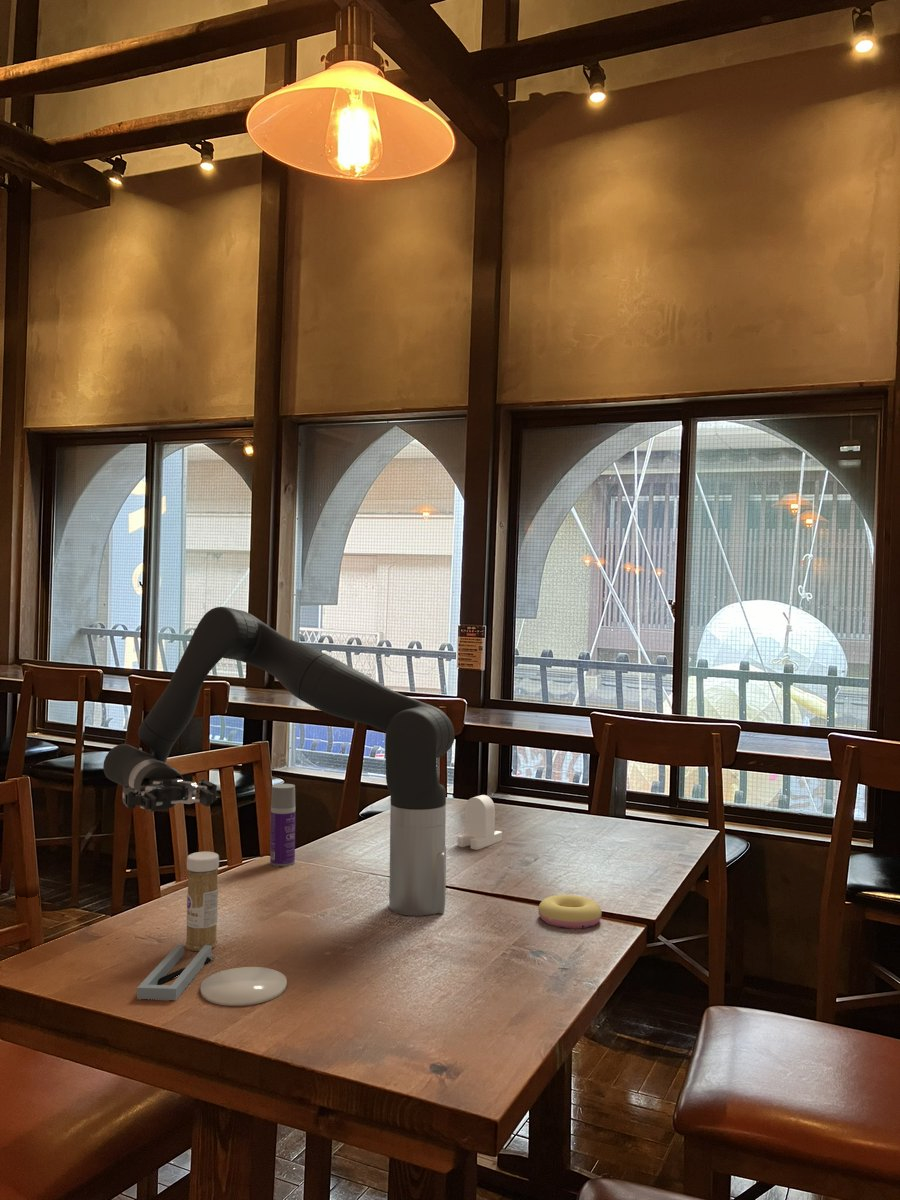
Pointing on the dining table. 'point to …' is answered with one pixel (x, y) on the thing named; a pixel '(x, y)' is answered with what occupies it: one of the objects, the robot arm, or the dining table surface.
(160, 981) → the black marker pen
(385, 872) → the dining table surface
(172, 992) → the grey u-shaped piece
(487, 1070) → the dining table surface
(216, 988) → the coaster
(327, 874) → the dining table surface
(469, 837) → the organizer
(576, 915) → the donut
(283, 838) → the container
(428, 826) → the robot arm
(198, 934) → the sprinkles bottle
